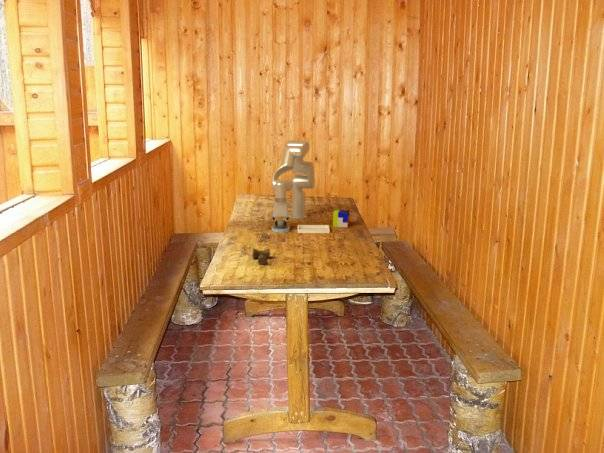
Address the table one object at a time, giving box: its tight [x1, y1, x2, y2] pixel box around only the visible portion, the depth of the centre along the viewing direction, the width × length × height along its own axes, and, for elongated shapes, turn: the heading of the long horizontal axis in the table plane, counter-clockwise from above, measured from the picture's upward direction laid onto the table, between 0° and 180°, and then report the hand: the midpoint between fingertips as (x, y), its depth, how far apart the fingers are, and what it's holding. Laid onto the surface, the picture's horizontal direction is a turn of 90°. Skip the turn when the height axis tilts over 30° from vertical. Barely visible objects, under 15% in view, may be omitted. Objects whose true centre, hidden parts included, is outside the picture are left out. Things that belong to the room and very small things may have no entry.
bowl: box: [271, 225, 291, 234], centre depth 398 cm, size 12×12×2 cm
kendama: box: [252, 248, 271, 266], centre depth 328 cm, size 6×10×20 cm
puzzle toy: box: [332, 209, 350, 228], centre depth 414 cm, size 10×10×10 cm
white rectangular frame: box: [297, 224, 330, 234], centre depth 398 cm, size 13×21×2 cm, turn 90°
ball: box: [277, 219, 285, 228], centre depth 397 cm, size 5×5×5 cm
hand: (280, 226), depth 397 cm, fingers closed on ball, 4 cm apart
